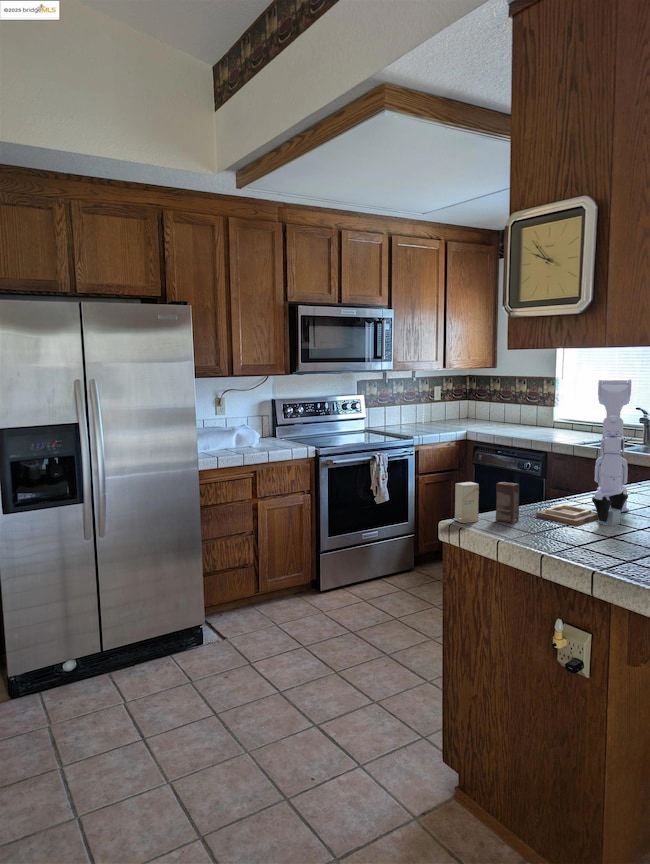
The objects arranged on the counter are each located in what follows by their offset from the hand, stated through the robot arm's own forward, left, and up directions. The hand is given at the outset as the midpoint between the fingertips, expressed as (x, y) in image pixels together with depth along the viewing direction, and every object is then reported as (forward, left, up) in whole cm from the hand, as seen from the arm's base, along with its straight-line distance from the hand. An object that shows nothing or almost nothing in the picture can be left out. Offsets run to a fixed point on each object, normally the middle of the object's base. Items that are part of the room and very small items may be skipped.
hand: (609, 518), depth 188 cm
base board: (+3, -12, -1) cm, 12 cm away
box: (+21, -22, -2) cm, 30 cm away
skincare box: (+31, -30, -2) cm, 43 cm away
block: (0, 0, -2) cm, 2 cm away
